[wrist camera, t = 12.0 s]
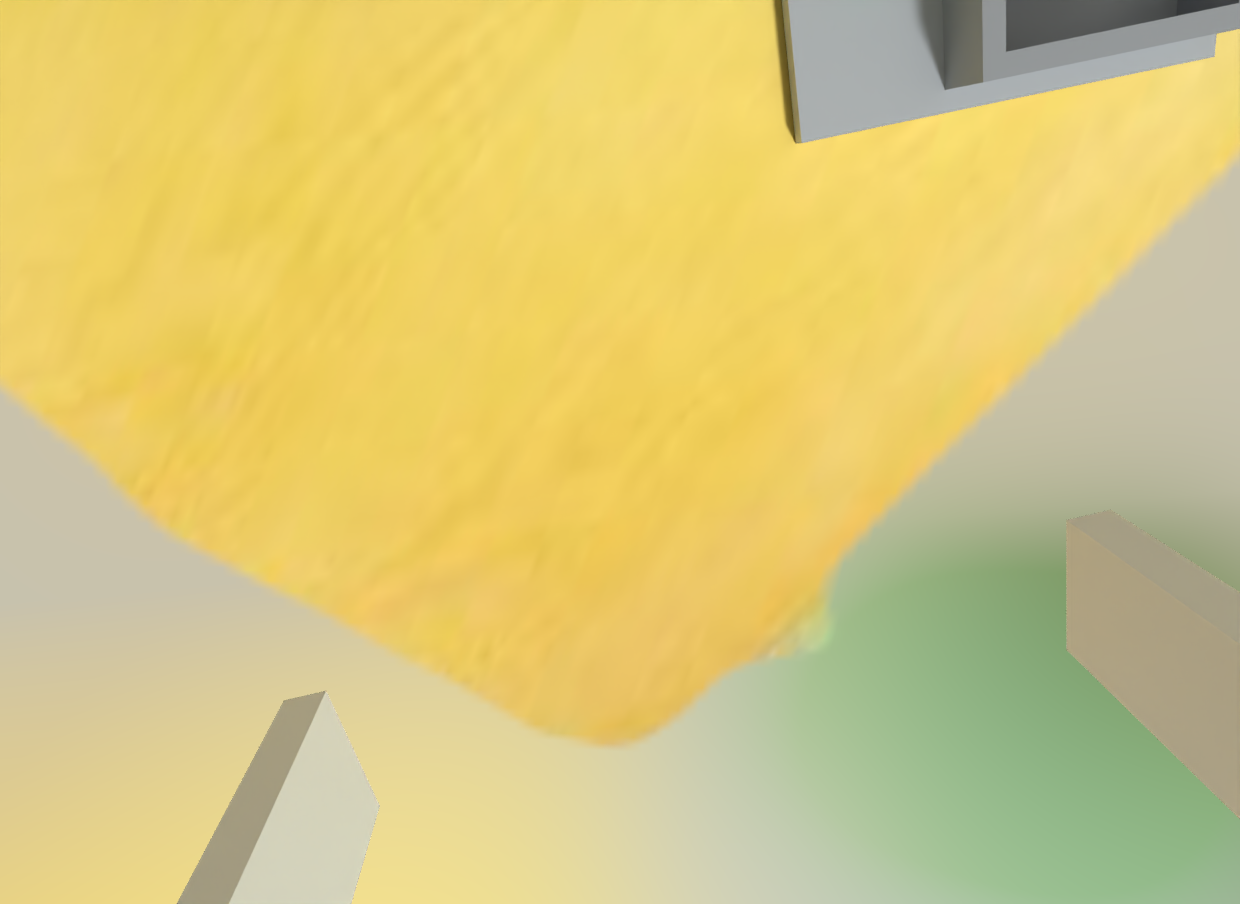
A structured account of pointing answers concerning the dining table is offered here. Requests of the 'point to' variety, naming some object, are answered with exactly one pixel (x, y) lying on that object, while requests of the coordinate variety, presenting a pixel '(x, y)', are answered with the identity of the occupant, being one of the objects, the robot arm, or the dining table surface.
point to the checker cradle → (975, 52)
